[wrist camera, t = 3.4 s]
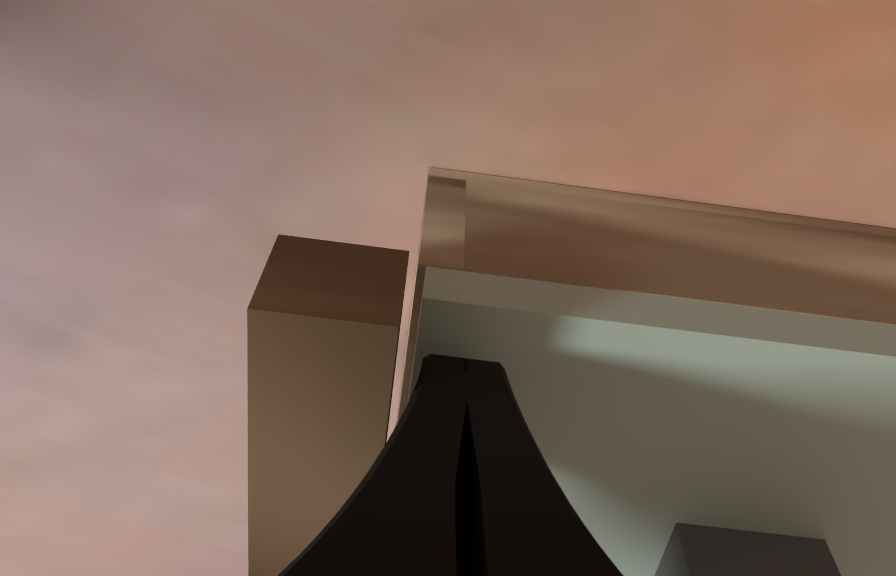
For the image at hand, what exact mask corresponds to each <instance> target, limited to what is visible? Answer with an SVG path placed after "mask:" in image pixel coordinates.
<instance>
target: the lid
mask: <svg viewBox="0 0 896 576" xmlns="http://www.w3.org/2000/svg"><path fill="white" fill-rule="evenodd" d="M429 354H436V355H444V356H452V357H460V358H468V359H476V360H485V361H493V362H500V363H501V365H502V366H503V367H504V368H505V371H506V374H507V377H508V380H509V383H510V386H511V388H512V391H513V394H514V396H515V399H516V401H517V403H518V406H519V408H520V410H521V413H522V415H523V417H524V419H525V422H526V424H527V426H528V428H529V430H530V432H531V434H532V436H533V438H534V440H535V442H536V444H537V446H538V448H539V450H540V452H541V454H542V455H543V457H544V459H545V461H546V463H547V465H548V467H549V468H550V470H551V472H552V474H553V476H554V477H555V479H556V481H557V482H558V484H559V486H560V487H561V489H562V491H563V492H564V494H565V496H566V497H567V499H568V500H569V502H570V504H571V505H572V507H573V508H574V510H575V511H576V513H577V514H578V516H579V517H580V519H581V520H582V522H583V523H584V525H585V526H586V527H587V529H588V530H589V531H590V533H591V534H592V536H593V537H594V538H595V540H596V541H597V543H598V544H599V545H600V547H601V548H602V549H603V550H604V552H605V553H606V554H607V556H608V557H609V558H610V559H611V561H612V562H613V563H614V564H615V566H616V567H617V568H618V570H619V571H620V572H621V573H622V574H623V575H624V576H896V325H888V324H880V323H872V322H864V321H857V320H849V319H841V318H833V317H825V316H817V315H809V314H801V313H793V312H785V311H777V310H770V309H762V308H754V307H746V306H738V305H730V304H722V303H714V302H706V301H698V300H690V299H683V298H675V297H667V296H659V295H651V294H643V293H635V292H627V291H619V290H611V289H603V288H596V287H588V286H580V285H572V284H564V283H556V282H548V281H540V280H532V279H524V278H516V277H508V276H501V275H493V274H485V273H477V272H469V271H461V270H453V269H445V268H437V267H429V266H426V269H425V276H424V284H423V291H422V299H421V306H420V314H419V321H418V328H417V336H416V343H415V351H414V358H413V366H412V373H411V381H410V388H409V395H408V402H409V399H410V397H411V395H412V393H413V390H414V388H415V385H416V383H417V380H418V377H419V373H420V370H421V364H422V358H424V357H426V356H427V355H429ZM407 404H408V403H407Z"/></svg>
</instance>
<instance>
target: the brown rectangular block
mask: <svg viewBox="0 0 896 576" xmlns="http://www.w3.org/2000/svg"><path fill="white" fill-rule="evenodd" d="M408 257H409V251H404V250H396V249H389V248H381V247H373V246H365V245H357V244H349V243H342V242H334V241H326V240H318V239H310V238H302V237H294V236H287V235H279V234H278V237H277V239H276V242H275V244H274V246H273V249H272V251H271V254H270V256H269V258H268V261H267V263H266V265H265V268H264V270H263V273H262V275H261V277H260V280H259V282H258V285H257V287H256V289H255V292H254V294H253V296H252V299H251V301H250V304H249V306H248V308H247V322H248V559H249V576H278V575H279V574H280V573H281V572H282V571H283V570H284V569H285V568H286V567H287V566H288V565H289V564H290V563H291V562H292V561H293V560H294V559H295V558H296V557H297V556H298V555H299V554H300V553H301V552H302V551H303V550H304V549H305V548H306V547H307V546H308V545H309V544H310V543H311V542H312V541H313V540H314V539H315V537H316V536H317V535H318V534H319V533H320V532H321V531H322V529H323V528H324V527H325V526H326V525H327V524H328V523H329V521H330V520H331V519H332V518H333V517H334V516H335V515H336V513H337V512H338V511H339V510H340V508H341V507H342V506H343V505H344V503H345V502H346V501H347V500H348V498H349V497H350V496H351V494H352V493H353V492H354V490H355V489H356V488H357V486H358V485H359V484H360V482H361V481H362V479H363V478H364V477H365V475H366V474H367V472H368V471H369V469H370V468H371V466H372V465H373V463H374V462H375V460H376V458H377V457H378V455H379V454H380V452H381V451H382V449H383V448H384V446H385V444H386V440H387V432H388V423H389V415H390V407H391V399H392V390H393V382H394V374H395V365H396V357H397V349H398V340H399V332H400V324H401V316H402V307H403V299H404V291H405V282H406V274H407V266H408Z"/></svg>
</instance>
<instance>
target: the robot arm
mask: <svg viewBox="0 0 896 576" xmlns="http://www.w3.org/2000/svg"><path fill="white" fill-rule="evenodd" d="M278 576H624V575H623V574H622V573H621V572H620V571H619V570H618V568H617V567H616V566H615V564H614V563H613V562H612V561H611V559H610V558H609V557H608V556H607V554H606V553H605V552H604V550H603V549H602V548H601V547H600V545H599V544H598V543H597V541H596V540H595V538H594V537H593V536H592V534H591V533H590V531H589V530H588V529H587V527H586V526H585V525H584V523H583V522H582V520H581V519H580V517H579V516H578V514H577V513H576V511H575V510H574V508H573V507H572V505H571V504H570V502H569V500H568V499H567V497H566V496H565V494H564V492H563V491H562V489H561V487H560V486H559V484H558V482H557V481H556V479H555V477H554V476H553V474H552V472H551V470H550V468H549V467H548V465H547V463H546V461H545V459H544V457H543V455H542V454H541V452H540V450H539V448H538V446H537V444H536V442H535V440H534V438H533V436H532V434H531V432H530V430H529V428H528V426H527V424H526V422H525V419H524V417H523V415H522V413H521V410H520V408H519V406H518V403H517V401H516V399H515V396H514V394H513V391H512V388H511V386H510V383H509V380H508V377H507V374H506V371H505V368H504V367H503V366H502V365H501V363H500V362H493V361H485V360H476V359H468V358H460V357H452V356H444V355H436V354H429V355H427V356H426V357H424V358H422V364H421V370H420V373H419V377H418V380H417V383H416V385H415V388H414V390H413V393H412V395H411V397H410V399H409V402H408V404H407V406H406V408H405V410H404V412H403V414H402V416H401V417H400V419H399V421H398V423H397V425H396V427H395V429H394V431H393V433H392V434H391V436H390V438H389V440H388V441H387V443H386V444H385V446H384V448H383V449H382V451H381V452H380V454H379V455H378V457H377V458H376V460H375V462H374V463H373V465H372V466H371V468H370V469H369V471H368V472H367V474H366V475H365V477H364V478H363V479H362V481H361V482H360V484H359V485H358V486H357V488H356V489H355V490H354V492H353V493H352V494H351V496H350V497H349V498H348V500H347V501H346V502H345V503H344V505H343V506H342V507H341V508H340V510H339V511H338V512H337V513H336V515H335V516H334V517H333V518H332V519H331V520H330V521H329V523H328V524H327V525H326V526H325V527H324V528H323V529H322V531H321V532H320V533H319V534H318V535H317V536H316V537H315V539H314V540H313V541H312V542H311V543H310V544H309V545H308V546H307V547H306V548H305V549H304V550H303V551H302V552H301V553H300V554H299V555H298V556H297V557H296V558H295V559H294V560H293V561H292V562H291V563H290V564H289V565H288V566H287V567H286V568H285V569H284V570H283V571H282V572H281V573H280V574H279V575H278Z"/></svg>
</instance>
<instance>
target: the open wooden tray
mask: <svg viewBox="0 0 896 576" xmlns="http://www.w3.org/2000/svg"><path fill="white" fill-rule="evenodd" d="M426 266H429V267H437V268H445V269H453V270H461V271H469V272H477V273H485V274H493V275H501V276H508V277H516V278H524V279H532V280H540V281H548V282H556V283H564V284H572V285H580V286H588V287H596V288H603V289H611V290H619V291H627V292H635V293H643V294H651V295H659V296H667V297H675V298H683V299H690V300H698V301H706V302H714V303H722V304H730V305H738V306H746V307H754V308H762V309H770V310H777V311H785V312H793V313H801V314H809V315H817V316H825V317H833V318H841V319H849V320H857V321H864V322H872V323H880V324H888V325H896V229H893V228H886V227H878V226H870V225H863V224H855V223H848V222H840V221H833V220H825V219H817V218H810V217H802V216H795V215H787V214H780V213H772V212H764V211H757V210H749V209H742V208H734V207H727V206H719V205H711V204H704V203H696V202H689V201H681V200H674V199H666V198H658V197H651V196H643V195H636V194H628V193H621V192H613V191H605V190H598V189H590V188H583V187H575V186H568V185H560V184H552V183H545V182H537V181H530V180H522V179H515V178H507V177H499V176H492V175H484V174H477V173H469V172H462V171H454V170H446V169H439V168H431V167H429V174H428V182H427V190H426V198H425V206H424V213H423V221H422V229H421V237H420V245H419V252H418V260H417V268H416V276H415V284H414V292H413V299H412V307H411V315H410V323H409V331H408V339H407V346H406V354H405V362H404V370H403V378H402V386H401V393H400V401H399V409H398V417H397V423H398V421H399V419H400V417H401V416H402V414H403V412H404V410H405V408H406V406H407V403H408V395H409V388H410V381H411V373H412V366H413V358H414V351H415V343H416V336H417V328H418V321H419V314H420V306H421V299H422V291H423V284H424V276H425V269H426Z"/></svg>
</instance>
